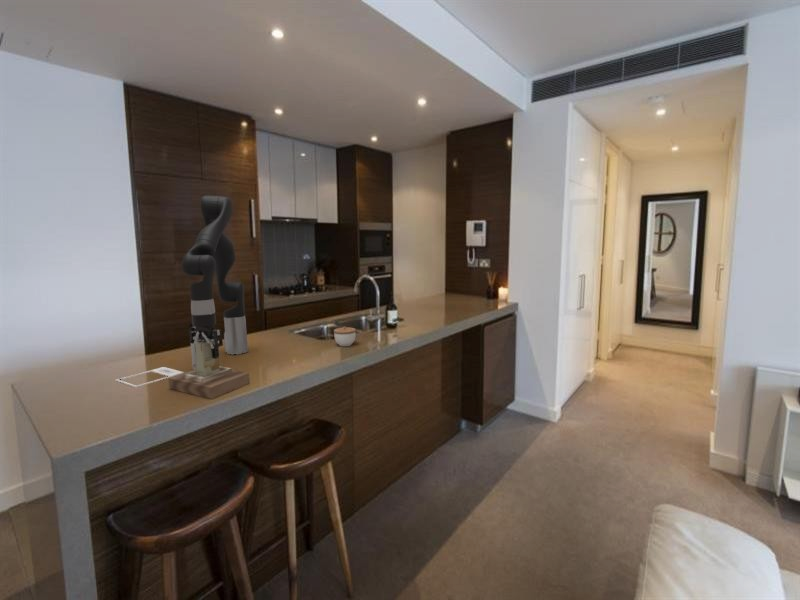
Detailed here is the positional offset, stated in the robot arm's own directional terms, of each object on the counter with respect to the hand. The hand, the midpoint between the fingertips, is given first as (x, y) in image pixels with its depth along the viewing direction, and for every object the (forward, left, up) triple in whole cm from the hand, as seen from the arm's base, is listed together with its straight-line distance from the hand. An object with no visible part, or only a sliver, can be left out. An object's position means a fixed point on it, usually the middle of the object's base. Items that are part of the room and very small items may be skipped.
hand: (207, 356), depth 144 cm
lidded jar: (+12, +68, -11) cm, 70 cm away
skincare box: (0, 0, -7) cm, 7 cm away
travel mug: (-19, +11, -11) cm, 25 cm away
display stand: (0, 0, -11) cm, 11 cm away
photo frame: (-30, -3, -12) cm, 32 cm away
